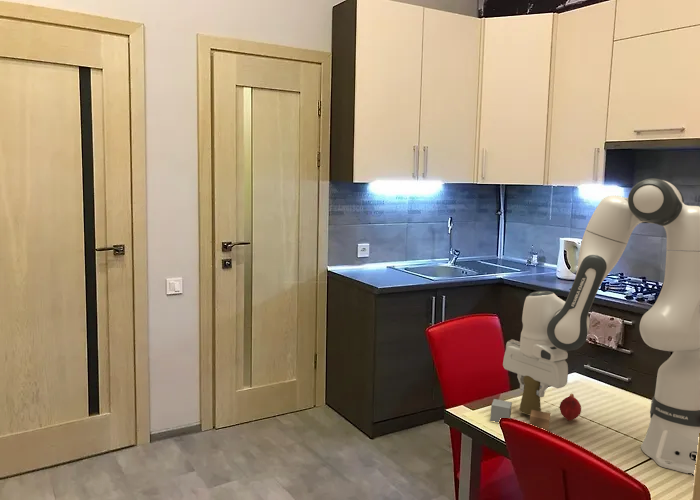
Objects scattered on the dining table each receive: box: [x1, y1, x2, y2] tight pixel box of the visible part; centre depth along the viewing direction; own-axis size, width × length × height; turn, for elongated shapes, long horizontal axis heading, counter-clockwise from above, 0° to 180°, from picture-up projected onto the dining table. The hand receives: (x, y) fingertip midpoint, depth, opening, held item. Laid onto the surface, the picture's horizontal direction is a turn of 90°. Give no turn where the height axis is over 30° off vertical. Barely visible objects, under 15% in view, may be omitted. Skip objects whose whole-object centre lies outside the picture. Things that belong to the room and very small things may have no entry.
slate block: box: [489, 398, 513, 422], centre depth 169 cm, size 5×5×5 cm
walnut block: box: [529, 410, 551, 431], centre depth 162 cm, size 5×5×5 cm
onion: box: [559, 393, 582, 422], centre depth 171 cm, size 6×6×8 cm
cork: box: [519, 376, 542, 416], centre depth 172 cm, size 6×6×11 cm
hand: (531, 393), depth 172 cm, fingers closed on cork, 4 cm apart
